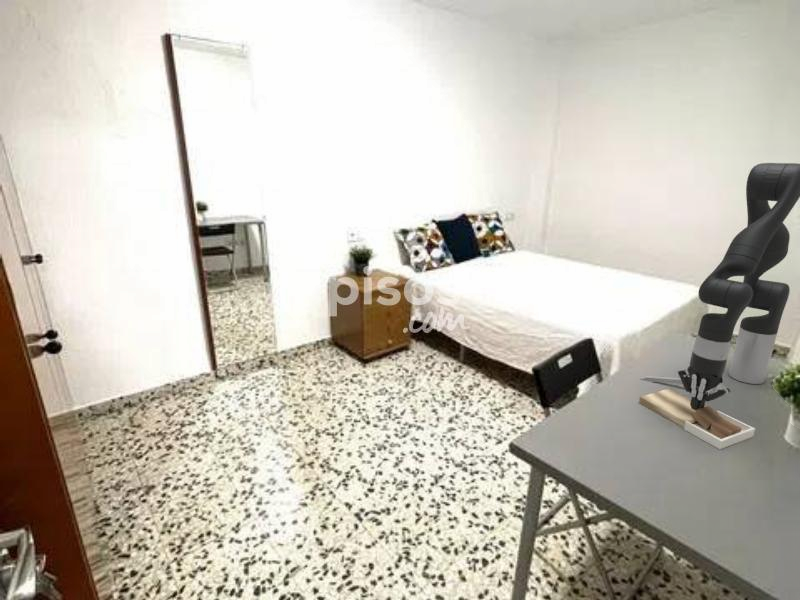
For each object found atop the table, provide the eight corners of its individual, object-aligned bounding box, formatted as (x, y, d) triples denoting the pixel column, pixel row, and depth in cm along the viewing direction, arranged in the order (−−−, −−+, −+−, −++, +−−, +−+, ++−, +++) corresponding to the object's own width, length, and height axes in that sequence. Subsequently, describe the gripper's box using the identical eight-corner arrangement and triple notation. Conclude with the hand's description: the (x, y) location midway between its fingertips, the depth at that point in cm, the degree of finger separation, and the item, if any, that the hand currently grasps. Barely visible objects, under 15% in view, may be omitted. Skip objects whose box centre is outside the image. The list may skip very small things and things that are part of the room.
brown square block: (702, 412, 115) (708, 405, 113) (717, 425, 111) (723, 418, 110) (691, 416, 113) (697, 409, 111) (706, 429, 110) (712, 422, 108)
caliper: (715, 395, 128) (719, 377, 126) (715, 397, 127) (719, 378, 125) (640, 378, 139) (642, 361, 137) (639, 380, 138) (642, 363, 136)
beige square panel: (667, 394, 129) (668, 388, 128) (713, 417, 116) (715, 411, 115) (639, 402, 124) (640, 396, 124) (684, 428, 112) (685, 421, 111)
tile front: (720, 428, 111) (723, 418, 110) (739, 438, 107) (741, 428, 106) (709, 432, 109) (711, 422, 108) (727, 442, 105) (730, 432, 104)
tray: (716, 418, 116) (718, 410, 115) (753, 436, 108) (755, 428, 107) (683, 429, 112) (685, 421, 111) (719, 449, 103) (721, 441, 103)
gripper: (747, 360, 104) (730, 419, 109) (695, 340, 116) (682, 394, 121) (727, 366, 101) (711, 425, 107) (676, 345, 113) (664, 400, 119)
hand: (696, 409), depth 114 cm, fingers closed
